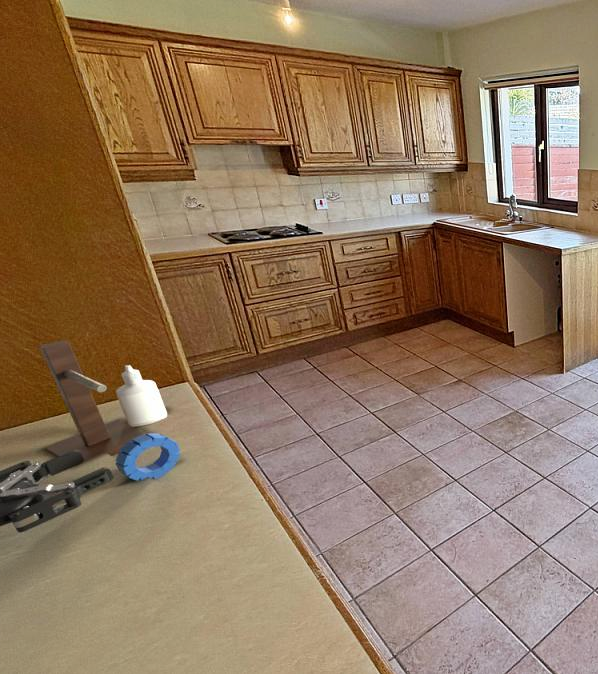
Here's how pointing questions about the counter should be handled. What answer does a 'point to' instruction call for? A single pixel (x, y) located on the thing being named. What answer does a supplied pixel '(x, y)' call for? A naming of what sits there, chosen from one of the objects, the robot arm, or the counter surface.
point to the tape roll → (139, 444)
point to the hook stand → (83, 407)
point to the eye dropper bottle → (140, 399)
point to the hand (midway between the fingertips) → (95, 463)
